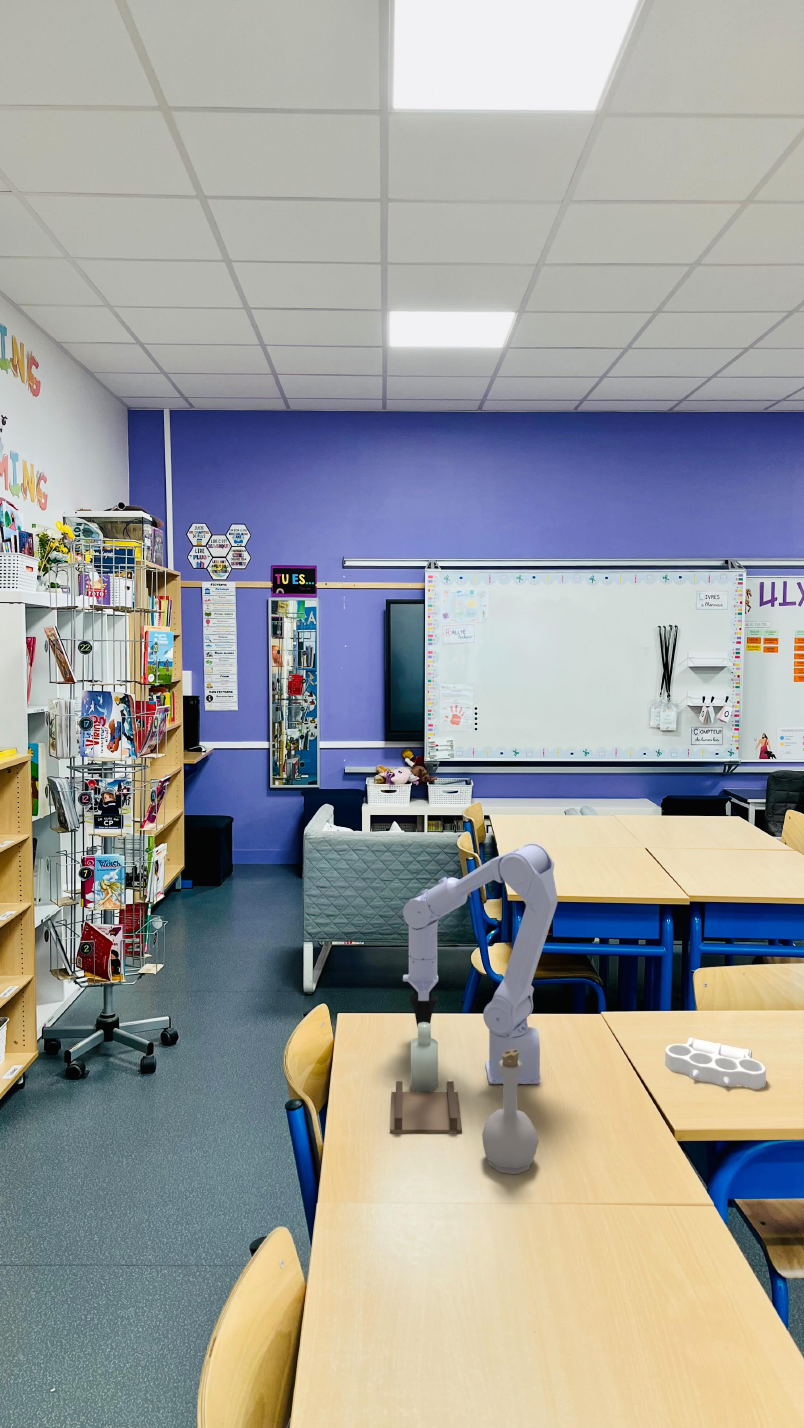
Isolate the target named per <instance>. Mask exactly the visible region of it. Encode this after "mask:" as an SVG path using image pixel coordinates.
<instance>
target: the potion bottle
mask: <svg viewBox="0 0 804 1428" xmlns="http://www.w3.org/2000/svg"><path fill="white" fill-rule="evenodd" d="M518 1054H519V1050H517V1049H510V1050H508V1051H505V1052H504V1053H503V1054H502V1060H500V1061H499V1069H500V1074H501V1075H502V1077H503V1084H502V1085H503V1089H502V1090H503V1092H502V1093H503V1094H502V1095H503V1098H502V1099H503V1101H502V1102H503V1104H502V1105H503V1107H502V1108H501V1109H500V1108H499V1109H496V1111H494V1112H493V1113H491V1114H490V1116H489V1117H488V1118H487V1120H485V1121H486V1122H484V1126H483V1129H482V1134H481V1136H482V1146H483V1150H484V1154H485V1158H486V1159H487V1160H488V1165H489V1166H490V1167H491V1168H493V1169H494V1170H495V1171H496V1172H498V1173H500V1174H506V1175H507V1174H508V1175H519V1174H522V1173H524V1171H525V1172H527V1171H529V1169H530V1168H531V1164H532V1163H533V1160H534V1158H535V1155H536V1152H537V1148H538V1145H539V1137H538V1135H537V1134H538V1133H537V1129H536V1127H535V1126H534V1124H533V1122H532V1120H531V1119H530V1118H529V1116H528V1115H527V1114H526V1113H525V1112H524V1111H521V1110H518V1084H517V1078H518V1077H519V1076H520V1074H521V1071H522V1063H521V1062H520V1061H519V1060H518ZM521 1172H522V1173H521Z"/></svg>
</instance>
